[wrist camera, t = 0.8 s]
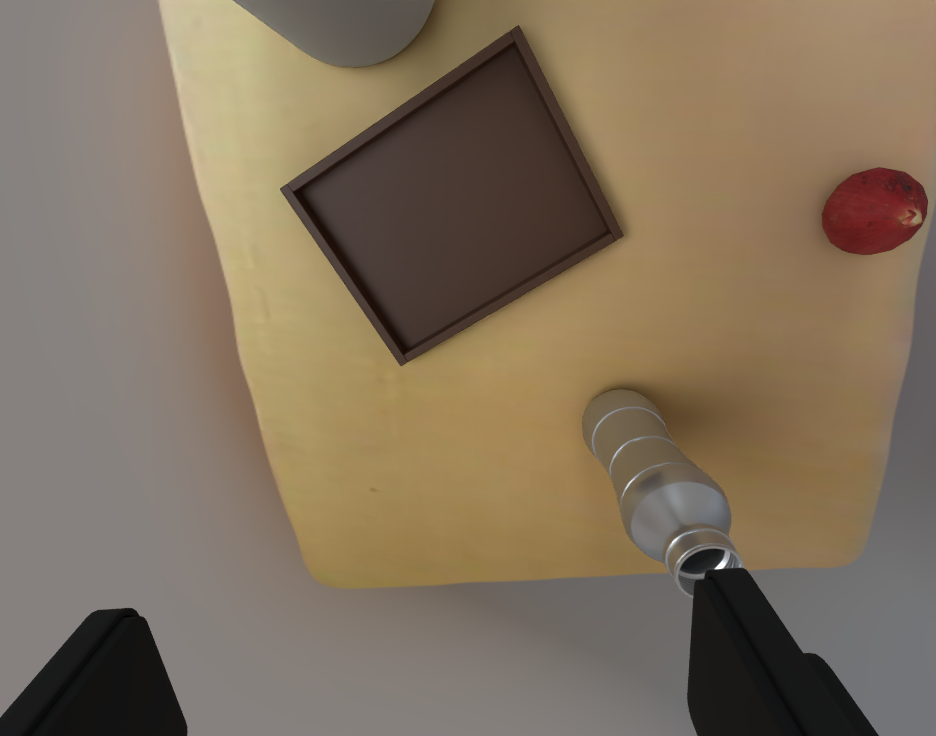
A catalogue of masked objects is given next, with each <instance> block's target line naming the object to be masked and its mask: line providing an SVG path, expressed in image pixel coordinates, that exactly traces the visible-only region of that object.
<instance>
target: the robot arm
mask: <svg viewBox="0 0 936 736" xmlns="http://www.w3.org/2000/svg"><path fill="white" fill-rule="evenodd" d="M687 695H688V696H687V699H688V707H689V712H690V716H691V719H692V722H693V725H694V727H695V730H696V733H697V735H698V736H879V735H878V734H877V733H876V731H875V730H874V728H873V727H872V725H871V724H870V723H869V721H868V720H867V718H866V717H865V716H864V714H863V713H862V711H861V710H860V708H859V707H858V706H857V704H856V703H855V701H854V700H853V699H852V697H851V696H850V694H849V693H848V692H847V690H846V689H845V687H844V686H843V684H842V683H841V682H840V680H839V679H838V677H837V676H836V675H835V673H834V672H833V670H832V669H831V668H830V667H829V666H828V664H827V663H826V662H825V661H824V660H823V659H822V658H821V657H819V656H818V655H816V654H812V653H803V652H802V651H801V649H800V648H799V647H798V645H797V644H796V642H795V641H794V639H793V638H792V636H791V635H790V633H789V632H788V630H787V629H786V627H785V626H784V624H783V623H782V621H781V620H780V618H779V617H778V615H777V614H776V612H775V611H774V609H773V608H772V606H771V605H770V604H769V602H768V600H767V599H766V597H765V596H764V594H763V593H762V592H761V590H760V589H759V587H758V586H757V584H756V583H755V581H754V580H753V578H752V577H751V575H750V574H749V573H748V571H747V570H746V569H744V568H742V567H741V568H726V569H711V570H707V571H706V572H705V575H704V579H703V580H696V581H695V584H694V596H693V613H692V628H691V645H690V661H689V677H688V693H687ZM0 736H187V724H186V721H185V718H184V716H183V713H182V711H181V708H180V706H179V703H178V701H177V698H176V695H175V693H174V690H173V687H172V685H171V682H170V680H169V677H168V675H167V672H166V669H165V667H164V664H163V662H162V659H161V656H160V654H159V651H158V649H157V646H156V644H155V641H154V639H153V636H152V633H151V631H150V628H149V626H148V623H147V621H146V619H145V618H144V617H142V616H139V614H138V613H137V611H136V610H134V609H132V608H122V609H109V610H97V611H95V612H93V613H91V614H90V615H89V616H88V617H87V618H86V619H85V620H84V621H83V622H82V624H81V625H80V626H79V627H78V628H77V629H76V631H75V632H74V633H73V634H72V635H71V636H70V637H69V639H68V640H67V641H66V642H65V643H64V644H63V646H62V647H61V648H60V649H59V650H58V651H57V652H56V654H55V655H54V656H53V657H52V658H51V659H50V661H49V662H48V663H47V664H46V665H45V667H44V668H43V669H42V670H41V671H40V672H39V673H38V675H37V676H36V677H35V678H34V679H33V680H32V682H31V683H30V684H29V685H28V686H27V687H26V688H25V690H24V691H23V692H22V693H21V694H20V696H19V697H18V698H17V699H16V700H15V701H14V702H13V704H12V705H11V706H10V707H9V708H8V709H7V711H6V712H5V713H4V714H3V715H2V717H1V718H0Z"/></svg>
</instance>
